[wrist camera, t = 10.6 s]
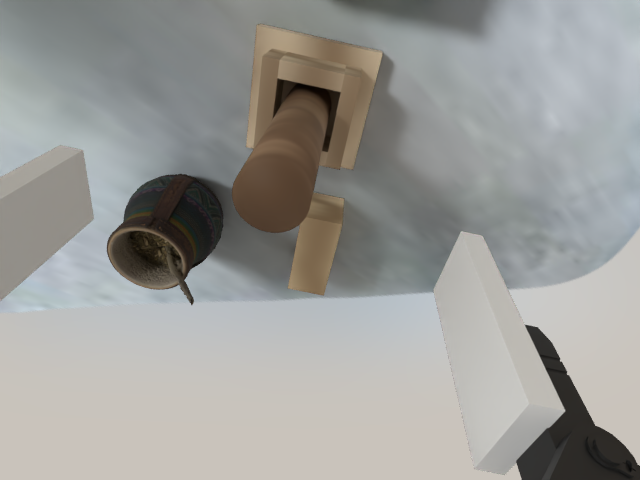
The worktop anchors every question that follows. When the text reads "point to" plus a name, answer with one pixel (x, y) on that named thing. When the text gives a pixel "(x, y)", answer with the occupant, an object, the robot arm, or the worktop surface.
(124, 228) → the mate gourd
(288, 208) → the dowel
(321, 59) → the socket block
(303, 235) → the block
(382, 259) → the worktop surface
